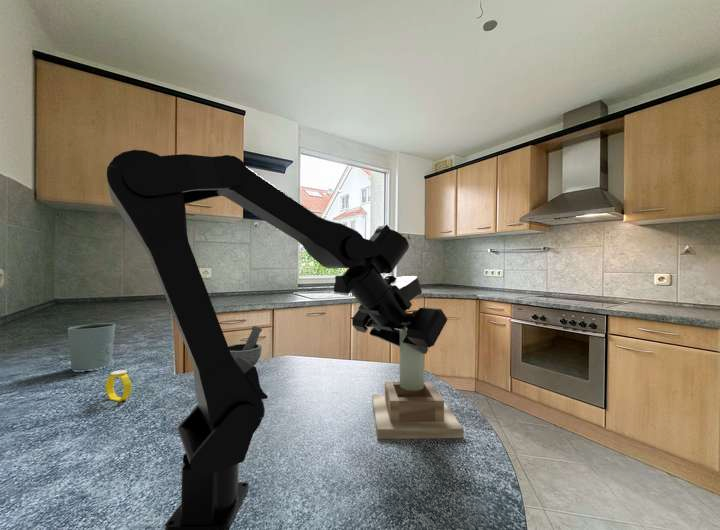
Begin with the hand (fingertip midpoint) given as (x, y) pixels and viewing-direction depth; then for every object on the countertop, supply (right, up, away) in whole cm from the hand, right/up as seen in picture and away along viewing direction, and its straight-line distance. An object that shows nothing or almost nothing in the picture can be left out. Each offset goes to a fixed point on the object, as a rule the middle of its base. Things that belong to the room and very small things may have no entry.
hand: (416, 349), depth 56 cm
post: (-1, -7, -1) cm, 7 cm away
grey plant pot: (-88, -14, +28) cm, 93 cm away
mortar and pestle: (-42, -14, +25) cm, 51 cm away
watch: (-62, -13, +7) cm, 64 cm away
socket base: (-1, -12, -1) cm, 12 cm away
